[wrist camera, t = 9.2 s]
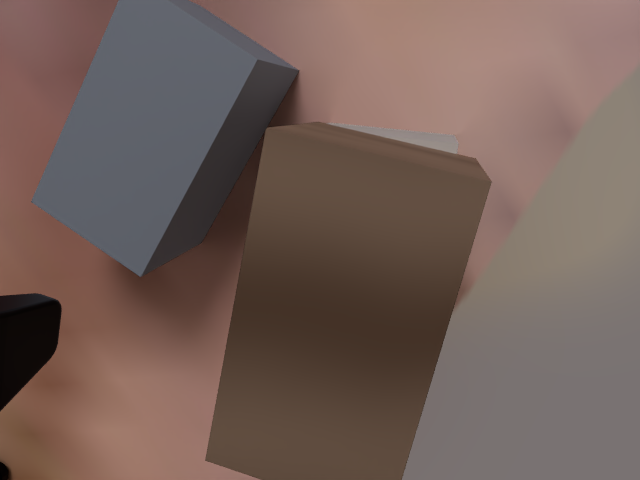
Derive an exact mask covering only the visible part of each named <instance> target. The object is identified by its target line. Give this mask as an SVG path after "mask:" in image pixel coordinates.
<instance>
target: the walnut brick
mask: <svg viewBox="0 0 640 480" xmlns="http://www.w3.org/2000/svg"><path fill="white" fill-rule="evenodd" d="M491 182H492V181H491V180H490V178H489V177H488V176H487V174H486V173H485V171H484V170H483V168H482V167H481V165H480V164H479V163H478V161H477V160H476V158H471V157H467V156H463V155H459V154H454V153H450V152H446V151H441V150H437V149H433V148H429V147H424V146H420V145H416V144H411V143H407V142H403V141H399V140H394V139H390V138H386V137H381V136H377V135H373V134H369V133H364V132H360V131H356V130H351V129H347V128H343V127H339V126H334V125H330V124H326V123H321V122H314V123H305V124H296V125H287V126H278V127H269V128H266V131H265V137H264V142H263V148H262V153H261V158H260V164H259V169H258V175H257V180H256V186H255V191H254V197H253V202H252V208H251V213H250V219H249V224H248V230H247V235H246V241H245V246H244V252H243V257H242V262H241V268H240V273H239V279H238V284H237V290H236V295H235V301H234V306H233V312H232V317H231V323H230V328H229V334H228V339H227V345H226V350H225V356H224V361H223V366H222V372H221V377H220V383H219V388H218V394H217V399H216V405H215V410H214V416H213V421H212V427H211V432H210V438H209V443H208V449H207V454H206V460H205V461H208V462H211V463H214V464H217V465H220V466H223V467H226V468H229V469H232V470H235V471H238V472H241V473H244V474H247V475H249V476H252V477H255V478H258V479H261V480H402V476H403V473H404V470H405V466H406V463H407V460H408V457H409V453H410V450H411V447H412V443H413V440H414V437H415V433H416V430H417V427H418V424H419V420H420V417H421V414H422V410H423V407H424V404H425V400H426V397H427V394H428V390H429V387H430V384H431V381H432V377H433V374H434V371H435V367H436V364H437V361H438V357H439V354H440V351H441V348H442V344H443V341H444V338H445V334H446V331H447V327H448V324H449V321H450V318H451V315H452V311H453V308H454V305H455V301H456V298H457V295H458V291H459V288H460V285H461V281H462V278H463V275H464V272H465V268H466V265H467V262H468V258H469V255H470V252H471V248H472V245H473V242H474V239H475V235H476V232H477V229H478V225H479V222H480V219H481V215H482V212H483V209H484V205H485V202H486V199H487V196H488V192H489V189H490V186H491Z"/></svg>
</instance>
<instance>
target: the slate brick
mask: <svg viewBox="0 0 640 480" xmlns="http://www.w3.org/2000/svg"><path fill="white" fill-rule="evenodd" d="M298 72H299V70H298V69H296V68H295V67H293V66H292V65H290V64H289V63H287V62H285V61H284V60H282V59H281V58H279V57H278V56H276V55H275V54H273V53H272V52H270V51H269V50H267V49H266V48H264V47H263V46H261V45H259V44H258V43H256V42H255V41H253V40H252V39H250V38H249V37H247V36H246V35H244V34H243V33H241V32H240V31H238V30H237V29H235V28H233V27H232V26H230V25H229V24H227V23H226V22H224V21H223V20H221V19H220V18H218V17H217V16H215V15H214V14H212V13H210V12H209V11H207V10H206V9H204V8H203V7H201V6H200V5H198V4H195V3H193V2H191V1H188V0H119V1H118V4H117V6H116V8H115V11H114V13H113V15H112V17H111V20H110V22H109V24H108V27H107V29H106V31H105V34H104V36H103V38H102V40H101V43H100V45H99V47H98V50H97V52H96V54H95V56H94V59H93V61H92V63H91V66H90V68H89V70H88V73H87V75H86V77H85V79H84V82H83V84H82V86H81V89H80V91H79V93H78V95H77V98H76V100H75V102H74V105H73V107H72V109H71V112H70V114H69V116H68V118H67V121H66V123H65V125H64V128H63V130H62V132H61V134H60V137H59V139H58V141H57V144H56V146H55V148H54V150H53V153H52V155H51V157H50V160H49V162H48V164H47V167H46V169H45V171H44V173H43V176H42V178H41V180H40V183H39V185H38V187H37V189H36V192H35V194H34V196H33V199H32V201H31V202H32V203H34V204H35V205H37V206H38V207H39V208H41V209H42V210H44V211H45V212H47V213H48V214H50V215H51V216H53V217H54V218H55V219H57V220H58V221H60V222H61V223H63V224H64V225H66V226H67V227H69V228H70V229H71V230H73V231H74V232H76V233H77V234H79V235H80V236H82V237H83V238H85V239H86V240H87V241H89V242H90V243H92V244H93V245H95V246H96V247H98V248H99V249H101V250H102V251H103V252H105V253H106V254H108V255H109V256H111V257H112V258H114V259H115V260H117V261H118V262H120V263H121V264H122V265H124V266H125V267H127V268H128V269H130V270H131V271H133V272H134V273H136V274H137V275H138V276H140V277H142V276H143V275H145V274H147V273H149V272H151V271H152V270H154V269H156V268H158V267H159V266H161V265H163V264H165V263H167V262H168V261H170V260H172V259H174V258H175V257H177V256H179V255H181V254H183V253H184V252H186V251H188V250H190V249H191V248H193V247H195V246H197V245H199V244H200V243H202V241H203V239H204V238H205V236H206V234H207V232H208V231H209V229H210V227H211V225H212V223H213V222H214V220H215V218H216V216H217V215H218V213H219V211H220V209H221V208H222V206H223V204H224V202H225V201H226V199H227V197H228V195H229V193H230V192H231V190H232V188H233V186H234V185H235V183H236V181H237V179H238V178H239V176H240V174H241V172H242V171H243V169H244V167H245V165H246V163H247V162H248V160H249V158H250V156H251V155H252V153H253V151H254V149H255V148H256V146H257V144H258V142H259V140H260V139H261V137H262V135H263V133H264V132H265V130H266V128H267V126H268V125H269V123H270V121H271V119H272V118H273V116H274V114H275V112H276V110H277V109H278V107H279V105H280V103H281V102H282V100H283V98H284V96H285V95H286V93H287V91H288V89H289V88H290V86H291V84H292V82H293V80H294V79H295V77H296V75H297V73H298Z"/></svg>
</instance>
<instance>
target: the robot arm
mask: <svg viewBox="0 0 640 480" xmlns="http://www.w3.org/2000/svg"><path fill="white" fill-rule="evenodd" d="M61 312H62V308H61V304H60V303H59V301H58V300H56V299H53V298H50V297H48V296H45V295H42V294H36V293H34V294H20V295H6V296H0V411H1V410H2V409H3V408H4V407H5V406H6V405H7V404H8V403H9V402H10V401H11V400H12V398H13V397H14V396H15V395H16V394H17V393H18V392H19V391H20V390H21V389H22V388H23V387H24V386H25V385H26V384H27V383H28V382H29V381H30V380H31V379H32V377H33V376H34V375H35V374H36V373H37V372H38V371H39V370H40V369H41V368H42V367H43V366H44V365H45V364H46V363H47V362H48V361H49V360H50V358H51V357H52V356H53V354H54V352H55V350H56V348H57V344H58V338H59V329H60V320H61ZM7 479H8V470H7V468H6V466H5V465H4V464H3V463H1V462H0V480H7Z"/></svg>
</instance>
